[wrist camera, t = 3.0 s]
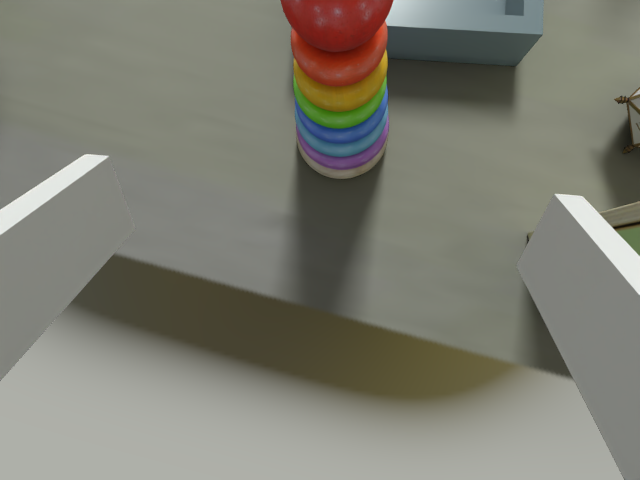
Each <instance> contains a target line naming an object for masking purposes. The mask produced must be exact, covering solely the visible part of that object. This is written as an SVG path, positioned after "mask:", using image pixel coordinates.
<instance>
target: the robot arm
mask: <svg viewBox="0 0 640 480" xmlns="http://www.w3.org/2000/svg"><path fill="white" fill-rule="evenodd" d="M135 229H136V228H135V225H134V222H133V220H132V217H131V214H130V211H129V209H128V206H127V203H126V200H125V198H124V195H123V192H122V189H121V187H120V184H119V181H118V178H117V176H116V173H115V170H114V167H113V165H112V162H111V159H110V156H102V155H90V154H85V155H83V156H82V157H80V158H79V159H77V160H76V161H74V162H73V163H71V164H70V165H68V166H67V167H65V168H63V169H62V170H60V171H59V172H57V173H56V174H54V175H53V176H51V177H50V178H48V179H47V180H45V181H44V182H42V183H41V184H39V185H38V186H36V187H34V188H33V189H31V190H30V191H28V192H27V193H25V194H24V195H22V196H21V197H19V198H18V199H16V200H15V201H13V202H12V203H10V204H9V205H7V206H5V207H4V208H2V209H1V210H0V381H1V379H2V378H3V377H4V376H5V375H6V374H7V373H8V372H9V371H10V370H11V368H12V367H13V366H14V365H15V364H16V363H17V362H18V361H19V359H20V358H21V357H22V356H23V355H24V354H25V353H26V352H27V350H28V349H29V348H30V347H31V346H32V345H33V344H34V342H35V341H36V340H37V339H38V338H39V337H40V336H41V335H42V334H43V332H44V331H45V330H46V329H47V328H48V327H49V326H50V324H52V322H53V321H54V320H55V319H56V318H57V317H58V316H59V314H60V313H61V312H62V311H63V310H64V309H65V308H66V307H67V306H68V304H69V303H70V302H71V301H72V300H73V299H74V298H75V297H76V295H77V294H78V293H79V292H80V291H81V290H82V289H83V287H84V286H85V285H86V284H87V283H88V282H89V281H90V280H91V279H92V277H93V276H94V275H95V274H96V273H97V272H98V271H99V270H100V268H101V267H102V266H103V265H104V264H105V263H106V262H107V261H108V259H109V258H110V257H111V256H112V255H113V254H114V253H115V252H116V251H117V249H118V248H119V247H120V246H121V245H122V244H123V243H124V242H125V240H126V239H127V238H128V237H129V236H130V235H131V234H132V233H133V231H134V230H135ZM516 267H517V269H518V271H519V273H520V275H521V277H522V279H523V281H524V283H525V285H526V286H527V288H528V290H529V292H530V294H531V296H532V298H533V300H534V302H535V304H536V306H537V308H538V310H539V312H540V314H541V316H542V318H543V320H544V322H545V324H546V326H547V328H548V330H549V332H550V334H551V336H552V338H553V340H554V342H555V344H556V346H557V348H558V350H559V352H560V354H561V356H562V358H563V360H564V361H565V363H566V365H567V367H568V369H569V371H570V373H571V375H572V377H573V379H574V381H575V383H576V385H577V387H578V389H579V391H580V393H581V395H582V397H583V399H584V401H585V403H586V405H587V407H588V409H589V411H590V413H591V415H592V417H593V419H594V421H595V423H596V425H597V427H598V429H599V431H600V433H601V435H602V436H603V438H604V440H605V442H606V444H607V446H608V448H609V450H610V452H611V454H612V456H613V458H614V460H615V462H616V464H617V466H618V468H619V470H620V472H621V474H622V476H623V478H624V480H640V256H639V255H638V254H637V253H636V252H635V251H634V250H633V249H632V248H631V247H630V246H629V244H628V243H627V242H626V241H625V240H624V239H623V238H622V237H621V236H620V235H619V234H618V233H617V232H616V231H615V230H614V229H613V228H612V227H611V226H610V225H609V224H608V222H607V221H606V220H605V219H604V218H603V217H602V216H601V215H600V214H599V213H598V212H597V211H596V210H595V209H594V208H593V207H592V206H591V205H590V204H589V203H588V202H587V201H586V199H585V198H584V197H583V196H575V195H563V194H554V195H553V197H552V199H551V201H550V202H549V204H548V206H547V208H546V210H545V212H544V214H543V216H542V217H541V219H540V221H539V223H538V225H537V227H536V229H535V231H534V233H533V234H532V236H531V238H530V240H529V242H528V244H527V246H526V248H525V250H524V251H523V253H522V255H521V257H520V259H519V261H518V263H517V265H516Z"/></svg>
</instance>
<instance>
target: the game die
mask: <svg viewBox="0 0 640 480" xmlns="http://www.w3.org/2000/svg"><path fill="white" fill-rule="evenodd" d="M614 100H615V101H617V102H618V104H619V103H622V104H623V103H627V110H628V117H629V125H630V132H631V139H632V144H631V145H629V146H627V147H626V148H625V149H624V151H623V153H627V152H630V151H631V150H633V148H634V147H639V148H640V87H639V88H638V89H637V90H636V91H635V92H634V93H633V94H632V95H631V96H630V97H629V98H627V97H626V96H625V97H622V96H620V97H619V98H616V99H614Z"/></svg>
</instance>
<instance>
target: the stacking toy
mask: <svg viewBox="0 0 640 480" xmlns="http://www.w3.org/2000/svg"><path fill="white" fill-rule="evenodd" d="M281 4H282V7H283V11H284V13H285V15H286V17H287V19H288V21H289V23H290V25H291V26H292V31H291V47H292V52H293V55H294V64H293V66H294V79H293V88H294V94H295V119H296V138H297V144H298V148H299V151H300V153H301V155H302V157H303V158H304V160H305V161H306V162H307V164H308V165H309V166H310V167H311V168H313V169H314V170H315V171H317V172H318V173H320V174H322V175H324V176H327V177H330V178H335V179H347V178H352V177H356V176H359V175H361V174H363V173H365V172H367V171H368V170H370V169H371V168H372V167H374V166H375V165H376V164H377V162H378V161H379V160H380V158H381V157H382V155H383V153H384V151H385V148H386V145H387V141H388V131H389V117H388V89H387V77H386V73H387V67H388V58H387V51H386V46H387V39H388V30H387V24H386V21H385V20H386V18H387V16H388V14H389V12H390V10H391V7H392V4H393V0H281Z"/></svg>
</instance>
